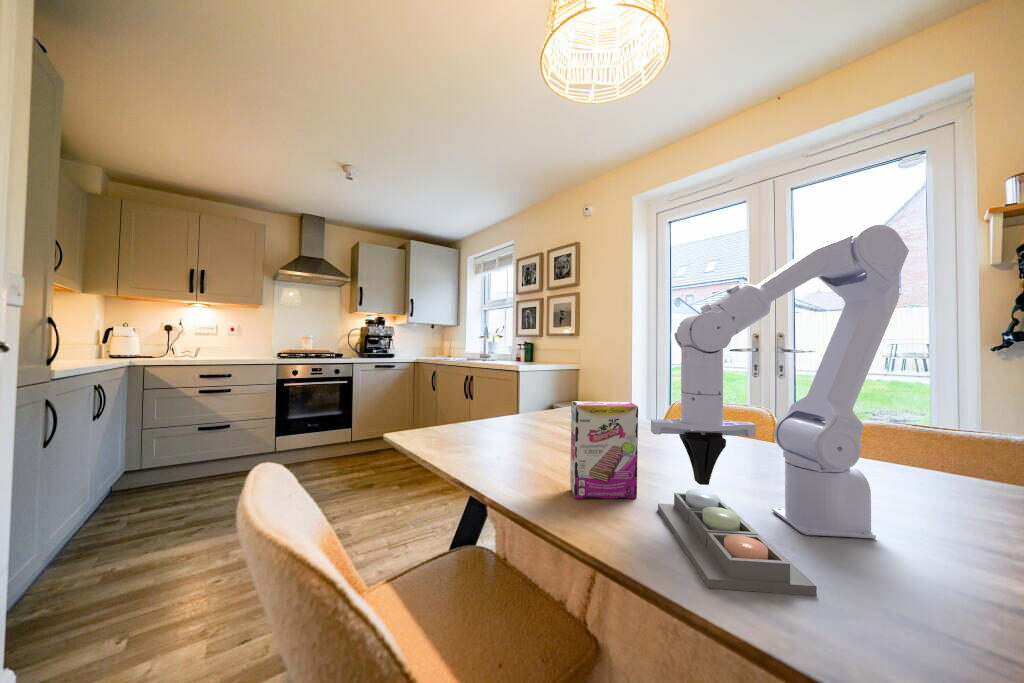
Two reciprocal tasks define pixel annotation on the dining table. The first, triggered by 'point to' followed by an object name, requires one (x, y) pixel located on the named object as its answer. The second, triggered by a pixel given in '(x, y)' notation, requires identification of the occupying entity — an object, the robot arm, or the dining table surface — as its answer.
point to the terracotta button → (745, 547)
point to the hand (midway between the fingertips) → (701, 482)
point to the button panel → (719, 564)
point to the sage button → (721, 519)
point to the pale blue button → (701, 499)
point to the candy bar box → (604, 449)
